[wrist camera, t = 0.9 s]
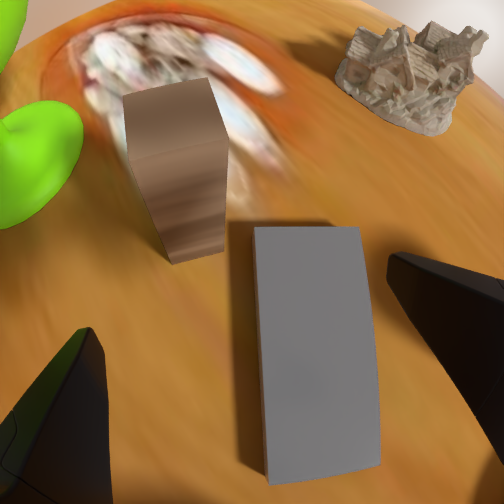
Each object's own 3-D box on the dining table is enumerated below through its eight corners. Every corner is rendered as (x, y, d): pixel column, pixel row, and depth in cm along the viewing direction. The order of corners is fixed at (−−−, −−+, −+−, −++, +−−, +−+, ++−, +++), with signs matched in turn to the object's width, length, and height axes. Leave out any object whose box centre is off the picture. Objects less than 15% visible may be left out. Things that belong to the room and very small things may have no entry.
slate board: (368, 458, 20) (380, 464, 18) (265, 476, 19) (268, 485, 17) (349, 236, 26) (358, 226, 24) (251, 237, 25) (254, 226, 23)
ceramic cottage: (455, 92, 36) (498, 18, 22) (438, 161, 31) (506, 67, 17) (362, 41, 38) (386, -41, 24) (318, 94, 33) (343, -19, 19)
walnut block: (223, 251, 24) (229, 138, 12) (172, 264, 24) (128, 161, 11) (210, 205, 26) (207, 77, 13) (161, 217, 25) (122, 95, 13)
